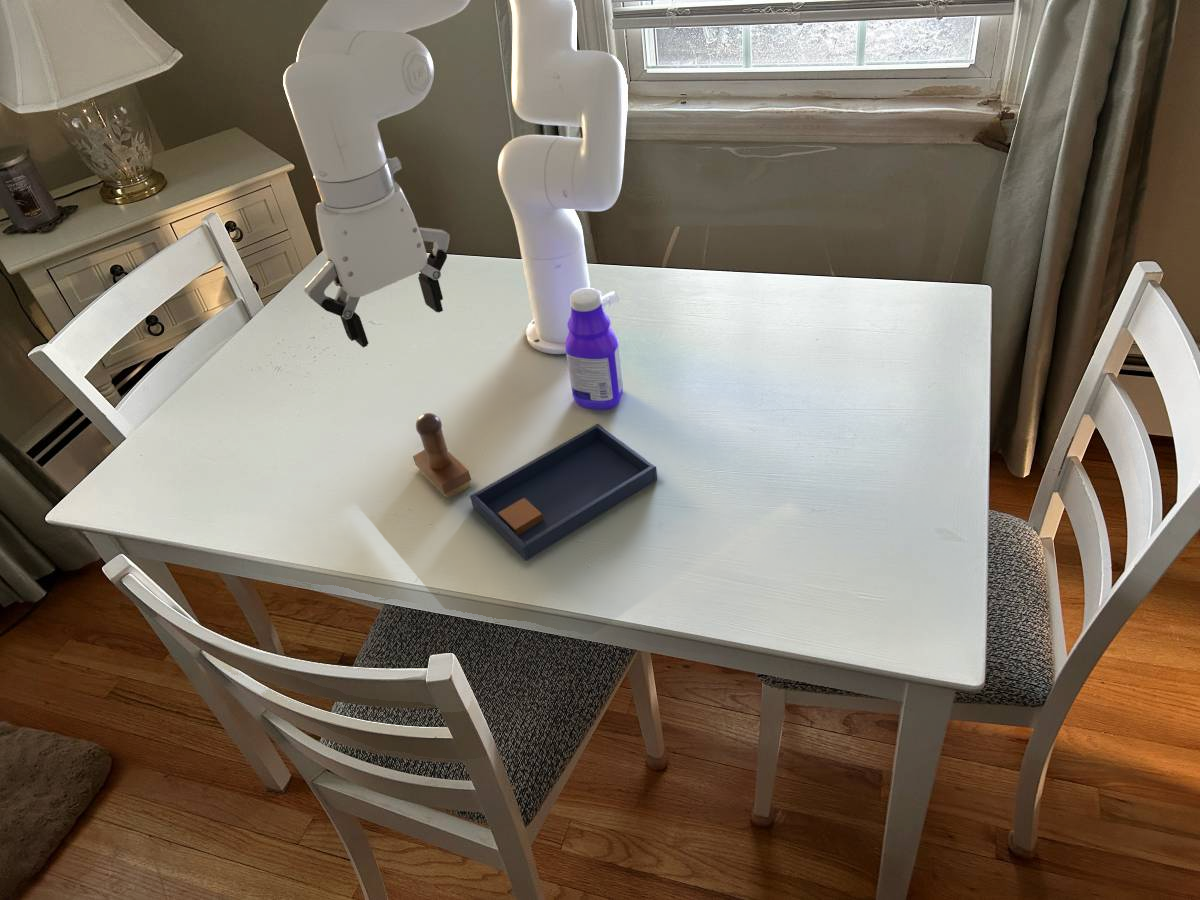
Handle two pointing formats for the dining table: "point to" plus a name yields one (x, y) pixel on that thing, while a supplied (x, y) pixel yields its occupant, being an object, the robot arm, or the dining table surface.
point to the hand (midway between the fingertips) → (398, 324)
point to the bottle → (592, 353)
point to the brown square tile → (520, 516)
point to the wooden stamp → (439, 458)
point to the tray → (566, 488)
